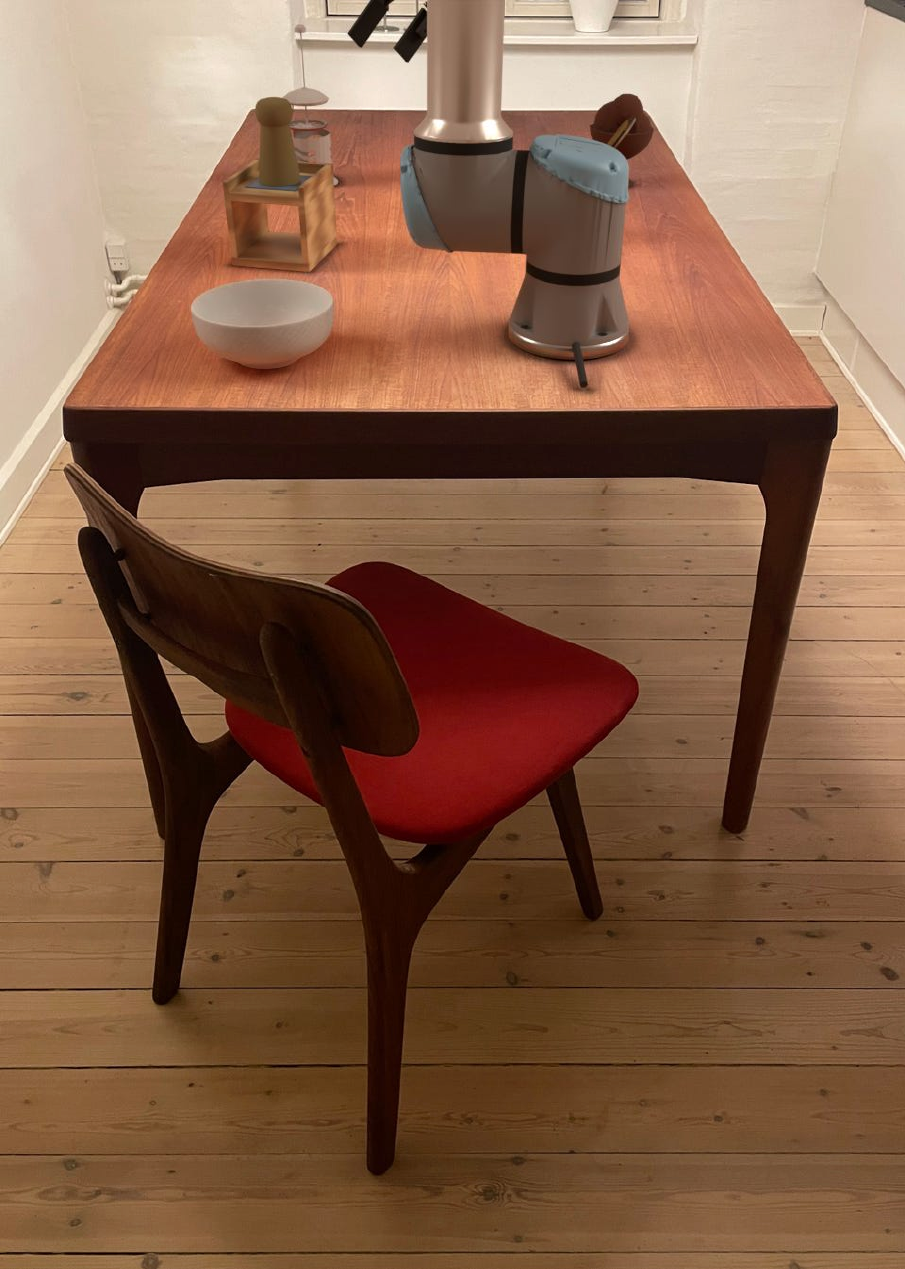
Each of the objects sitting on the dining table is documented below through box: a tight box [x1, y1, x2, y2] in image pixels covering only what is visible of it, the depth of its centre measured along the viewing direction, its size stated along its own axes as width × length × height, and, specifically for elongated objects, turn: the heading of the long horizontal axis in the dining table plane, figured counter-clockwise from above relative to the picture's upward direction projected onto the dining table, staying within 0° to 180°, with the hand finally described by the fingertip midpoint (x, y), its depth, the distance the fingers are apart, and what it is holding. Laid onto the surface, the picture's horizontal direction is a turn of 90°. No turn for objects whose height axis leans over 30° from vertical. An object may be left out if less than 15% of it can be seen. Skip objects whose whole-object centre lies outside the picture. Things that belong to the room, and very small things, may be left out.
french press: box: [281, 23, 339, 186], centre depth 192 cm, size 10×12×25 cm
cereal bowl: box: [190, 278, 335, 370], centre depth 135 cm, size 17×17×7 cm
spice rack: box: [222, 157, 338, 273], centre depth 164 cm, size 13×12×12 cm
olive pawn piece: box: [254, 96, 301, 187], centre depth 158 cm, size 6×6×11 cm
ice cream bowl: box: [589, 93, 655, 188], centre depth 194 cm, size 11×11×15 cm
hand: (376, 48), depth 158 cm, fingers open, 13 cm apart
